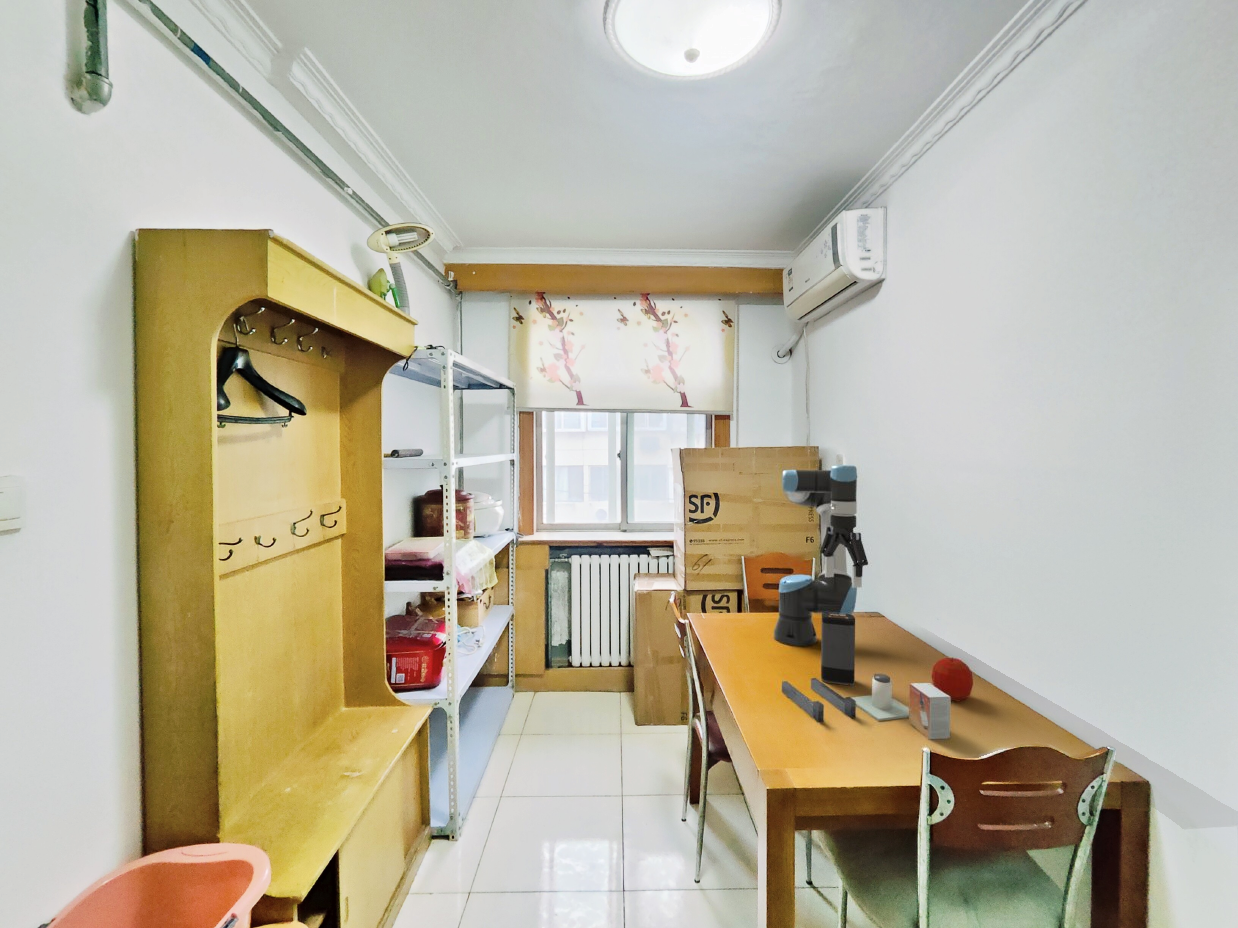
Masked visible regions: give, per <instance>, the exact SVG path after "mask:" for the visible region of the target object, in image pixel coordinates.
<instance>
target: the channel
mask: <svg viewBox="0 0 1238 928" xmlns="http://www.w3.org/2000/svg"><path fill="white" fill-rule="evenodd" d="M810 689H811V690H812V691H814V692H815V693H816V694H818V695H819V696H820V697H821V698H822V699H825V701H827V702H828V703H829V704H831V705H832V706H833V707H835V708H836V709H838V710H839V711H840V712H842V713H843V714H844V715H846V716H847V717H848V718H850V719H854V718H857V716H856V713H857V712H856V711H857V710H856V709H857V708H856V707H857V706H856V701H855V700H854V699H852V698H853V697H851V696H847V697H843V696H842V695H841V694H839V693H838V692H836V691H835V690H834V689H832V688H831V687H829V686H828V685H826V684H825V682H824V683H823V681H822V680H820V679H818V678H816V677H812V678H810ZM781 692H782V693H783V694H784V695H785V696H786V697H788V698H789V699H790V700H791V701H792V702H793V703H795V704H796V705H797V706H798V707H800V709H802V710H803V711H804V712H805V713H806V714H808V715H809V716H810V717H811V718H812V719H814V720H815V721H816V722H817V723H823V722H824V720H825V719H824V717H825V715H824V713H825V712H824V710H825V709H824V708H825V707H824V704H823V703H822V702H821V701H820V700H813V701H812V699H810V698H809V697H807V696H806V695H805V694H804V693H803V692H801V691H800V690H799V689H798V688H796V687H795V686H794V685H792V684H791V683H789V682H788V681H787V680H782V681H781Z"/></svg>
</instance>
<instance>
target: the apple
mask: <svg viewBox="0 0 1238 928" xmlns="http://www.w3.org/2000/svg"><path fill="white" fill-rule="evenodd" d="M973 677H974V676H973V671H972V670H971V669H970V667H969V666H968V665H967V664H966V663H965V662H964V661H963V660H961V659H959V658H956V657H955V658H954V657H943V658H941V659H938V660H937V661H936V662H935V663H934V664H933V665H932V671H931V679H932V680H931V681H932V685H933V686H935V687H936V688H937V689H939V690H940V691H942V692H943V693H945V694H946V695H949V696H950V697H951V701H958V702H959V701H962V700H964V699H966V698H968V697H970V696H971V694H972V693H971V692H972V690H973V686H974V680H973V679H974V678H973Z"/></svg>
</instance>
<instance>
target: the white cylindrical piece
mask: <svg viewBox="0 0 1238 928" xmlns="http://www.w3.org/2000/svg"><path fill="white" fill-rule="evenodd" d="M871 678H872V679H871V685H872V686H871V695H872V705H873V706H874V707H875V708H877V709H881V710H890V709H891V708H892V698H893V680H892V679H891V677H890V676H889V675H887V674H884V673H875V674H874V675H873V677H871Z"/></svg>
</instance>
